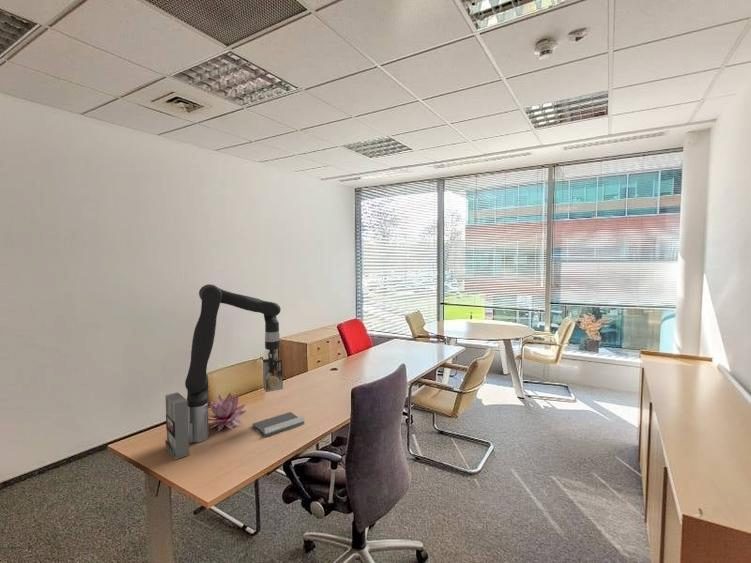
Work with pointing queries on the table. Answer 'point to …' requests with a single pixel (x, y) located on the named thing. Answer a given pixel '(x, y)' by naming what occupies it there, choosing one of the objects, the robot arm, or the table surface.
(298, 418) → the shelf
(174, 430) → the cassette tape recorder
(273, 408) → the table surface
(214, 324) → the robot arm
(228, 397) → the decorative flower
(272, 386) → the coffee box
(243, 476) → the table surface
